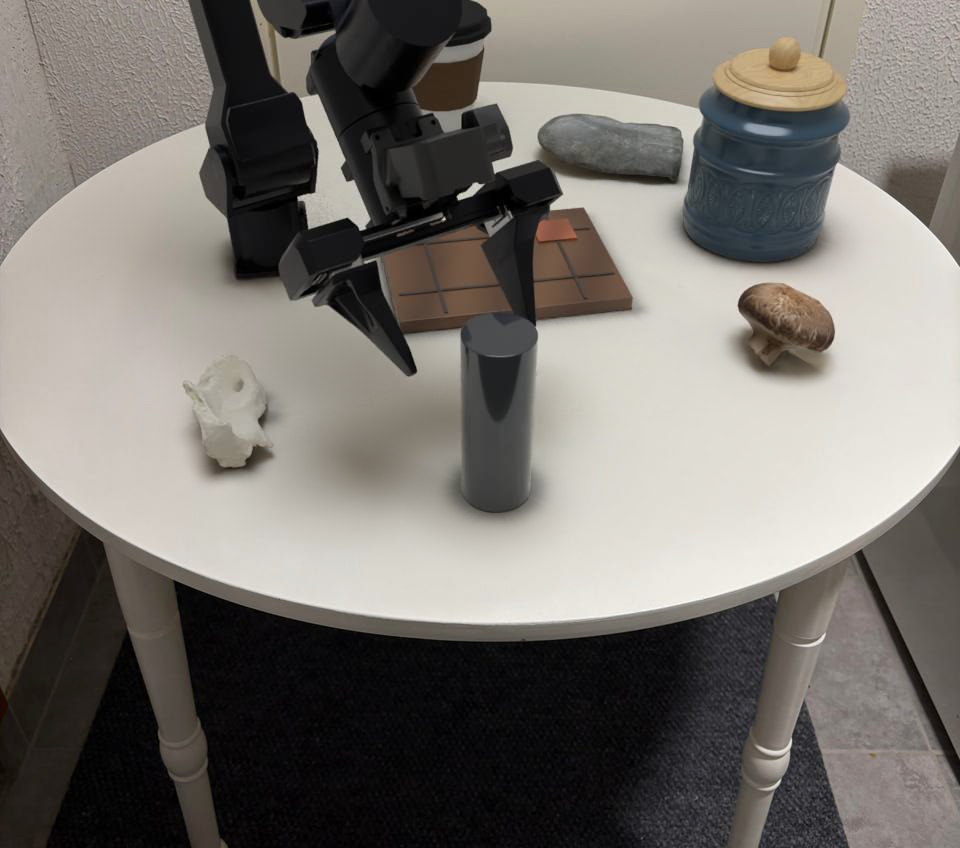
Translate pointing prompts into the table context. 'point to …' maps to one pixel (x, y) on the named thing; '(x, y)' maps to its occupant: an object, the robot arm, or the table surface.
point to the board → (475, 290)
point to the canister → (765, 154)
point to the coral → (229, 410)
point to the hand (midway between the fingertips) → (473, 351)
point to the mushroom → (784, 320)
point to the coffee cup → (456, 70)
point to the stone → (614, 145)
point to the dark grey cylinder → (497, 409)
